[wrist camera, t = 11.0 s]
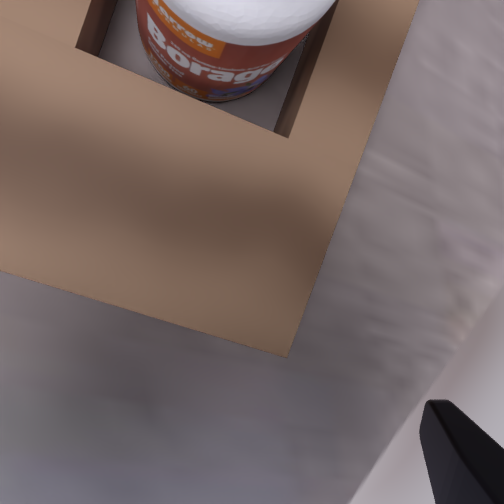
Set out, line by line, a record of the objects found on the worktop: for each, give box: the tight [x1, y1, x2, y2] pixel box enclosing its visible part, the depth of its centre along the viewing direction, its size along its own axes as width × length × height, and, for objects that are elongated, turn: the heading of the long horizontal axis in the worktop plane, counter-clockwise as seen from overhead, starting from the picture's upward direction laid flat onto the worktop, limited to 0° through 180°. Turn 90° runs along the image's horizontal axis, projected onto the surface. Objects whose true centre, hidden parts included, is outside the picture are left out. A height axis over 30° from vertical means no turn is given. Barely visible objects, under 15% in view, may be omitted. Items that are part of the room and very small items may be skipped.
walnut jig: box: [0, 0, 419, 358], centre depth 18 cm, size 19×14×4 cm
